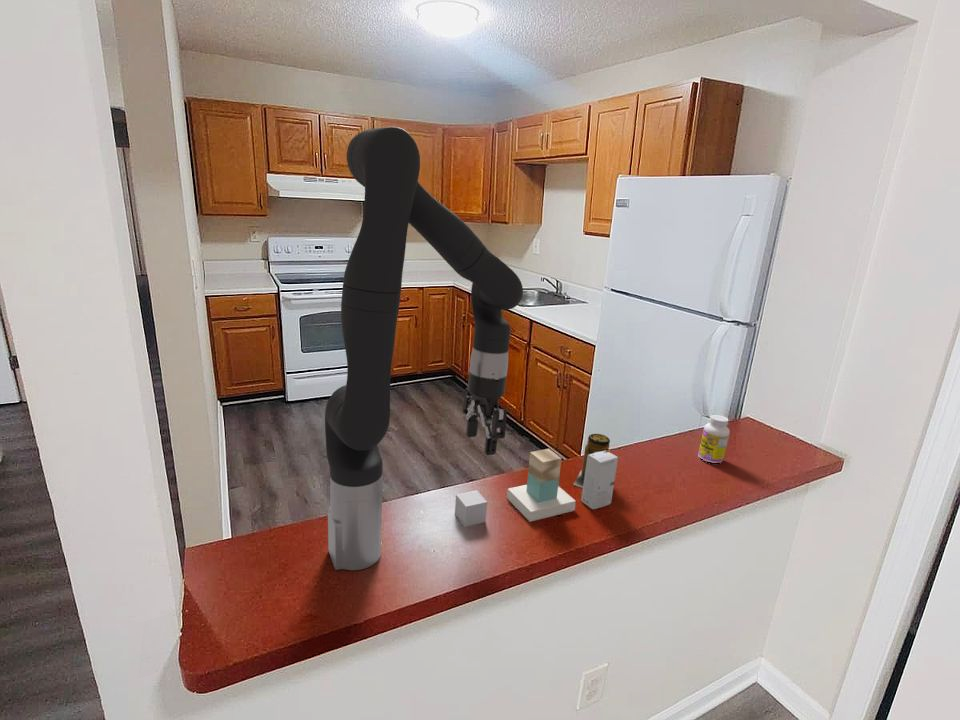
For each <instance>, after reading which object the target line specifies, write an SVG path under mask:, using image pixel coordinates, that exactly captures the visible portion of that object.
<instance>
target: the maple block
mask: <svg viewBox="0 0 960 720" xmlns="http://www.w3.org/2000/svg"><path fill="white" fill-rule="evenodd" d="M561 465H562V457H560V456H559V454H557V453H555V452H554V451H552V450H551V449H550V448H545V449H539V450H534V451H530V452H529V462H528V469H527V471H528V472H529V473H530V474H531V475H532V476H533V477H535V478H536V479H537V480H538V481H539V482H540V483H541V482H545V481H550V480H554V479H559V480H560V472H561ZM528 472H527V473H528Z"/></svg>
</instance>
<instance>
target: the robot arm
mask: <svg viewBox="0 0 960 720" xmlns="http://www.w3.org/2000/svg"><path fill="white" fill-rule="evenodd" d="M346 164H347V167H348V170H349V173H350V174H351V175H352V177H353V179H355V181H356V182H357V183H359V184H360V185H361V186H362V187H364V201H363V202H364V204H363V216H362V221H361V226H360V230H359V233H358V235H357V238H356V239H355V243H354V246H353V247H352V249H351V250H352V251H351V253H350V255H349V257H348V260H347V263H346V267H345V270H344V274H343V280H342V281H343V282H342V288H341V289H342V291H341V302H340V303H341V304H340V305H341V306H340V319H341V320H340V321H341V331H342V337H343V343H344V349H345V356H346V363H347V373H346V384H345V385H342V386H340V387H339V388H337V389H336V390H335V391H334V392H332V394H330V397H329V398H328V400H327V402H326V406H325V412H324V429H325V430H324V431H325V451H326V457H327V462H328V465H329V466H328V467H329V480H330V481H329V486H330V487H329V488H330V490H329V491H330V492H329V494H330V497H329V498H330V501H329V502H330V504H329V505H330V506H329V507H327V535H328V536H327V537H328V538H327V539H328V540H327V541H328V543H327V544H328V545H327V546H328V547H327V549H328V553H329V556H330V559H331V562H332V565H333V568H334V570H335V571H338V570H339V571H340V570H346V571H359V570H360V571H361V570H364V569H367V568H370V567H371V566H373V565H375V564H376V563H377V562H378V561H379V560H380V558H381V557H382V556H381V555H382V525H383V524H382V523H383V522H382V519H383V515H382V513H383V474H384V473H383V468H384V467H383V466H384V464H383V457H382V455H381V452H380V450H379V446H378V445H379V444H380V442H382V440H383V439H384V437H385V436H386V434H387V432H388V429H389V427H390V421H391V420H390V419H391V377H392V365H393V356H394V348H395V341H396V331H397V330H396V329H397V324H398V317H399V310H400V302H401V294H402V293H401V292H402V283H403V271H404V264H405V254H406V248H407V247H406V246H407V236H408V228H409V224H410V226H411V227H413V228H414V230H415V231H416V232H418V234H420V236H421V237H423V239H424V240H425V241H426V242H428V244H429V245H430V246H431V247H432V248H433V249H434V250H435V251H436V252H437V254H439V255H440V257H441V258H443V260H444V261H445V262H446V263H447V264H448V265H449V266H450V267H451V268H452V269H453V270H454V271H455V272H456V273H457V274H458V275H459V276H460V277H462V278H463V279H466V280H467V281H469V282H471V283H472V284H471V288H470V289H471V290H470V291H471V292H470V298H471V307H472V315H473V317H472V318H473V321H474V333H473V341H472V342H473V344H472V350H471V354H470V359H469V360H470V361H469V371H468V381H467V387H465V390H464V395H463V397H464V398H463V404H462V413H463V414H464V415H465V419H466V420H467V422H466V430H465V431H466V433H465V435H466V436H467V438H474V437H476V436H477V434H478V426H479V420H480V421H481V425H482V427H483V429H485V435H486V437H485V445H484V454H485V455H486V456H493V455H495V454H496V453H497V446H498V440H500V439H505V437H506V429H507V428H506V427H507V417H508V410H507V409H506V408H500V407H499V399H501V398H502V397H503V396H504V395H505V394H506V387H507V386H506V385H507V384H506V383H507V379H508V378H507V377H508V370H509V369H508V368H509V350H510V349H509V348H510V339H511V325H510V323H509V322H508V321H507V320H506V319H505V318H504V316H503V313H502V311H503V310H504V311H506V310H512V309H514V308H516V307H517V306H518V305H519V304H520V302H521V301H522V299H523V294H524V288H523V284H522V282H521V279H520V277H519V276H518V275H517V273H516V272H515V271H514V270H513V269H512V268H510V266H508V265H507V264H506V263H505V262H504V261H502V260H501V259H500V258H499V257H498V256H496V255H494V254H493V253H492V252H491V251H490V250H489V249H488V248H487V246H486V245H485V244H484V243H483V241H482V240H481V239H480V238H479V237H478V235H477V234H475V232H474V231H473V229H471V228H470V227H469V226H468V225H467V224H466V223H465V221H463V219H461V218H460V217H459V216H458V215H457V214H456V213H455V212H453V211H452V210H451V209H450V208H448V207H446V205H444V204H443V203H441V202H440V201H438V200H437V199H436V198H435V197H434V196H432V194H430V192H429V191H428V190H426V188H424V186H422V184H421V183H420V182H419V176H420V170H421V154H420V150H419V147H418V144H417V143H416V141H415V139H414V137H413V136H412V135H411V134H410V133H409V132H408V131H407V130H405V129H403V128H402V127H398V126H383V127H382V126H381V127H377V128H369V129H367V130H363V131H361V132H359V133H357V134H355V136H353V137H352V139H351V140H350V142H349V144H348V145H347V149H346ZM469 405H470V406H469ZM478 419H479V420H478Z"/></svg>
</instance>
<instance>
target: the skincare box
mask: <svg viewBox="0 0 960 720" xmlns="http://www.w3.org/2000/svg"><path fill="white" fill-rule="evenodd" d="M618 460H619V457H618V456H617V455H615V454H613V453H612V452H608V451H606V450H605V451H601V452H595V453H593V454H589V455H588V456H587V463H586V470H585V477H584V484H583V488H582V491H581V492H582V493H581V499H580V501H581V502H582V503H583V504H584V505H586V507H588V508H590V509H592V510H597V509H600V508H604V507H606V506H609V505H611V504H612V500H613V493H614V487H615V480H616V474H617V468H618Z"/></svg>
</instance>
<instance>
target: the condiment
mask: <svg viewBox="0 0 960 720" xmlns="http://www.w3.org/2000/svg"><path fill="white" fill-rule="evenodd" d="M610 442H611V439H610V438H609V437H608V436H607V435H604V434H601V433H591V434H589V435H588V438H587V442H586V445H585V447H584V453H583V458H582V460H583V461H582V466H581V470H580V471H579V473H578V475H577V477H576V479H575V481H574V482H573V486H576V487H578V488H582V489H583V484H584V477H585V470H586V463H587V456H588V455H589V454H593V453H595V452H601V451H605V450H606V451H608V452H610V451H611V450H610ZM610 453H611V452H610Z"/></svg>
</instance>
